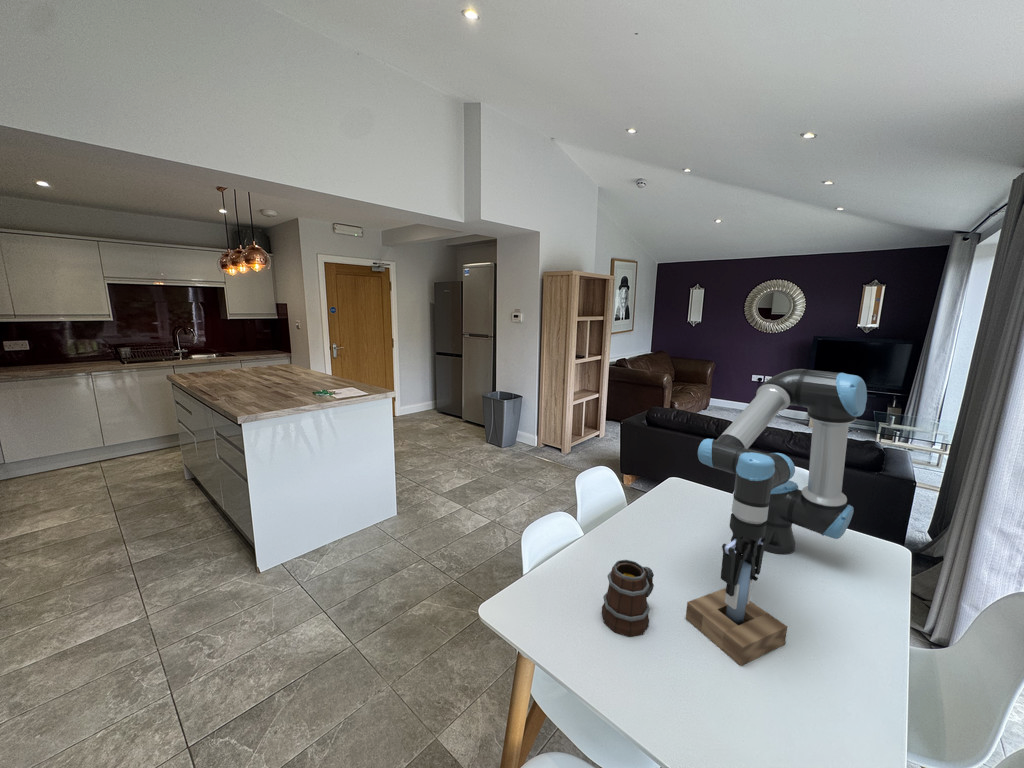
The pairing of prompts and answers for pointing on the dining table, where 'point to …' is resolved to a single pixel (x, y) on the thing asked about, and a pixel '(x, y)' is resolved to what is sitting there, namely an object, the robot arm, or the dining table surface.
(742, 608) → the peg
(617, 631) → the mug
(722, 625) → the socket block
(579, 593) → the dining table surface
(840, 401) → the robot arm
